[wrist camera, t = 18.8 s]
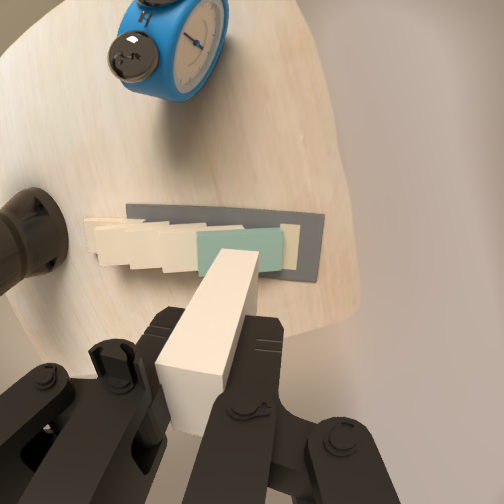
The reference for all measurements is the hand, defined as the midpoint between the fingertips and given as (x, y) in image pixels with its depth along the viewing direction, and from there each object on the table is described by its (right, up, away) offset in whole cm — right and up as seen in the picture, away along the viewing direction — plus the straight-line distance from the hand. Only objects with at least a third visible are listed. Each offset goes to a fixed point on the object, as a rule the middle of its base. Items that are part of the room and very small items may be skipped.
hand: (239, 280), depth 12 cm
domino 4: (-1, +2, +25) cm, 25 cm away
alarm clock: (-6, +25, +17) cm, 31 cm away
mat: (-4, +3, +26) cm, 27 cm away
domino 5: (+4, +2, +24) cm, 25 cm away
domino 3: (-5, +2, +25) cm, 26 cm away
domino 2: (-10, +3, +26) cm, 28 cm away
